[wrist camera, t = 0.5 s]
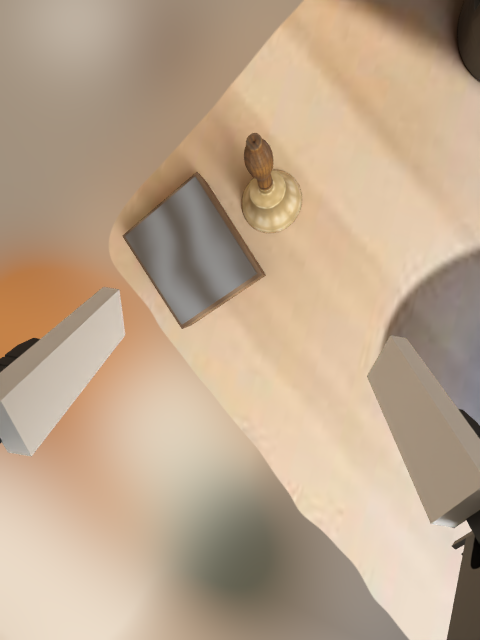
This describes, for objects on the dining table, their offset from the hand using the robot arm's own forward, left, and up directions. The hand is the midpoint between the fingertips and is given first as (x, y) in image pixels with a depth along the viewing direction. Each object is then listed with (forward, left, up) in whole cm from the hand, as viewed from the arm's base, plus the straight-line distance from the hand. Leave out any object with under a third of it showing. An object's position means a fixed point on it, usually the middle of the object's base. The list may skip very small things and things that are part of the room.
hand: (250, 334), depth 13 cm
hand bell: (-6, -12, -26) cm, 29 cm away
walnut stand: (+7, -12, -26) cm, 29 cm away
